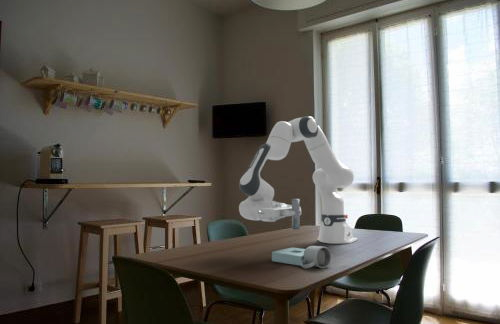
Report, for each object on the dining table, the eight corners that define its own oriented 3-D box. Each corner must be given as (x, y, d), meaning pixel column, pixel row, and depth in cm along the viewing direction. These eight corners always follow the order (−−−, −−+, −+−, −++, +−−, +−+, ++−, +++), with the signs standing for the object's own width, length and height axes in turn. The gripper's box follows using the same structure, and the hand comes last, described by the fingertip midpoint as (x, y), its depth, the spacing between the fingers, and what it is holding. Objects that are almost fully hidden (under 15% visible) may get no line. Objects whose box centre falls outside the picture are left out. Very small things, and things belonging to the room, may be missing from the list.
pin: (294, 228, 157) (294, 198, 158) (301, 228, 155) (300, 199, 156) (290, 229, 155) (290, 199, 155) (296, 229, 153) (296, 199, 153)
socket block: (292, 255, 164) (292, 247, 164) (320, 259, 155) (320, 251, 155) (271, 260, 154) (271, 252, 154) (301, 265, 144) (301, 256, 145)
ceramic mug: (316, 263, 149) (315, 243, 150) (332, 266, 143) (331, 245, 143) (295, 267, 144) (295, 246, 144) (310, 271, 137) (310, 249, 137)
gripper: (254, 204, 156) (282, 206, 147) (284, 202, 172) (311, 203, 162) (254, 220, 156) (282, 222, 147) (284, 216, 171) (311, 218, 162)
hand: (297, 212), depth 155 cm, fingers closed on pin, 3 cm apart
